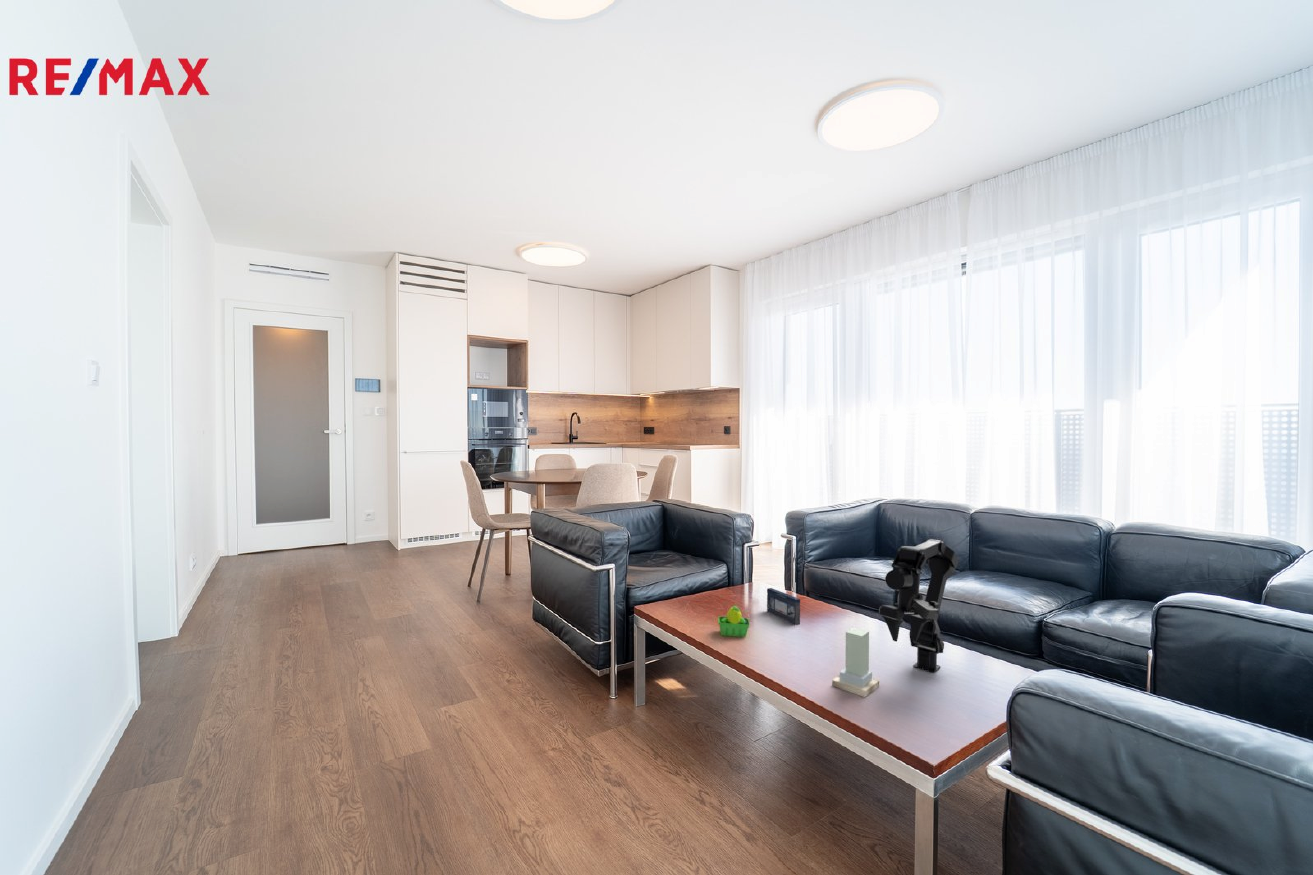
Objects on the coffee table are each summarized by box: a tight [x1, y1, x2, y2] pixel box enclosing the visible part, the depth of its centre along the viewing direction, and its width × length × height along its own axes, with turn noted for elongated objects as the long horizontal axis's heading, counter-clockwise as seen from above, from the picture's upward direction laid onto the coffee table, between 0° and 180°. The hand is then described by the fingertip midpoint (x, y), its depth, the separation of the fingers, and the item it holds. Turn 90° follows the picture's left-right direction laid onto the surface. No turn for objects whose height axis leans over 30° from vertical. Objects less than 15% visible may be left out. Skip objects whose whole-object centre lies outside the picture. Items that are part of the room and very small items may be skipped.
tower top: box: [839, 667, 873, 688], centre depth 165 cm, size 7×7×2 cm
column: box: [845, 626, 870, 677], centre depth 165 cm, size 5×5×12 cm
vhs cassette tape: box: [766, 587, 801, 625], centre depth 227 cm, size 18×3×10 cm, turn 25°
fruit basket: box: [717, 605, 750, 638], centre depth 207 cm, size 11×9×11 cm
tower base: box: [831, 674, 880, 698], centre depth 165 cm, size 10×10×2 cm
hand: (905, 640), depth 168 cm, fingers open, 9 cm apart
